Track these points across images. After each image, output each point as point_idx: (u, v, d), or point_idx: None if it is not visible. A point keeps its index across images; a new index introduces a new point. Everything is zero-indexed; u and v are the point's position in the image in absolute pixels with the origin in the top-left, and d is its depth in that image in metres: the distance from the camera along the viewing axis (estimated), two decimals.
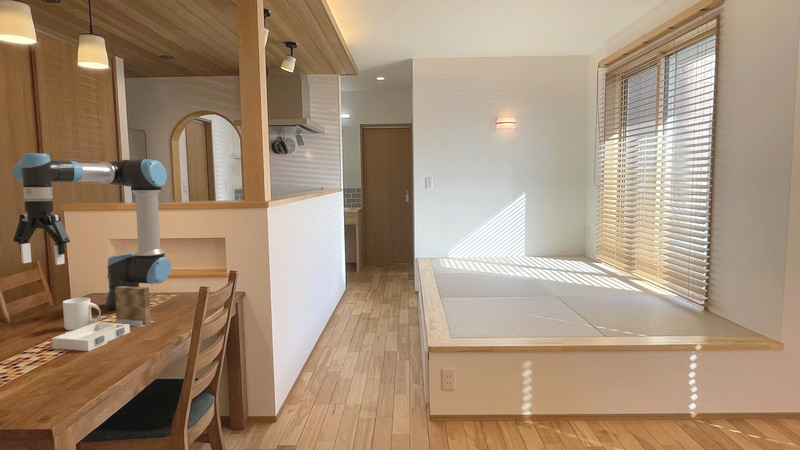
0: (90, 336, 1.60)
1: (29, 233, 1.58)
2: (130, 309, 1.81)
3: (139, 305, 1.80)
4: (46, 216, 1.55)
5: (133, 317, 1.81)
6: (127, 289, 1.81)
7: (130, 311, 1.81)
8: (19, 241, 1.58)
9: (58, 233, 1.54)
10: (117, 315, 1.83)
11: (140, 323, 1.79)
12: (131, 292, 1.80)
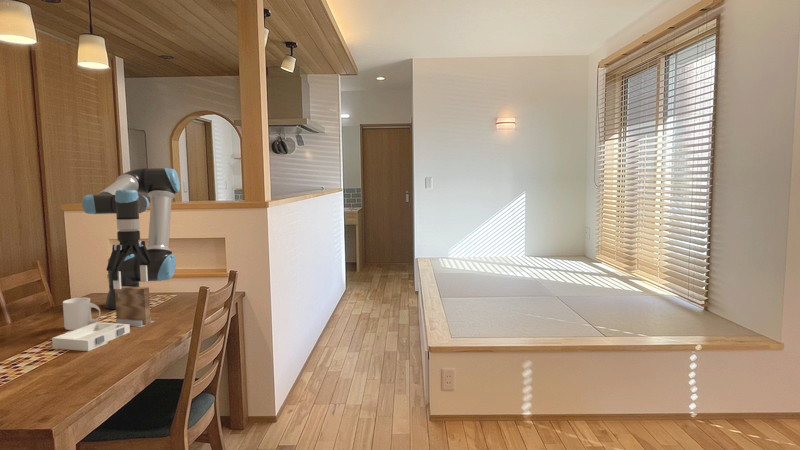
0: (90, 336, 1.60)
1: (138, 257, 1.85)
2: (130, 309, 1.81)
3: (139, 305, 1.80)
4: None
5: (133, 317, 1.81)
6: (127, 289, 1.81)
7: (130, 311, 1.81)
8: None
9: None
10: (117, 315, 1.83)
11: (140, 323, 1.79)
12: (131, 292, 1.80)
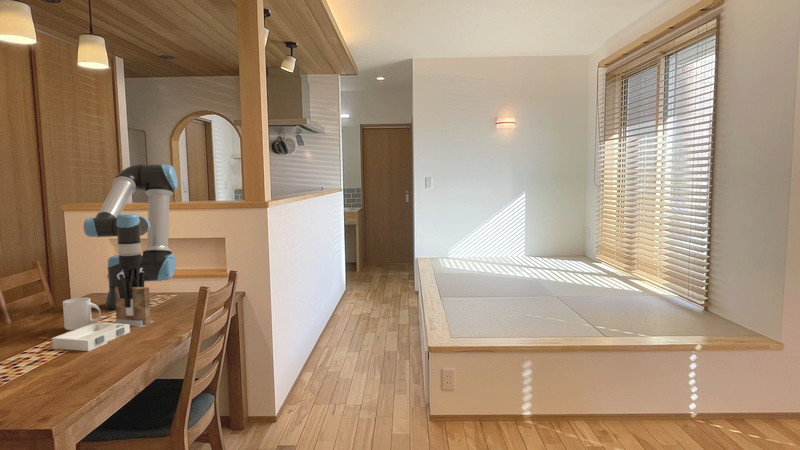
0: (90, 336, 1.60)
1: (134, 284, 1.83)
2: None
3: (139, 305, 1.80)
4: None
5: (133, 317, 1.81)
6: None
7: None
8: None
9: None
10: (117, 315, 1.83)
11: (140, 323, 1.79)
12: (131, 292, 1.80)
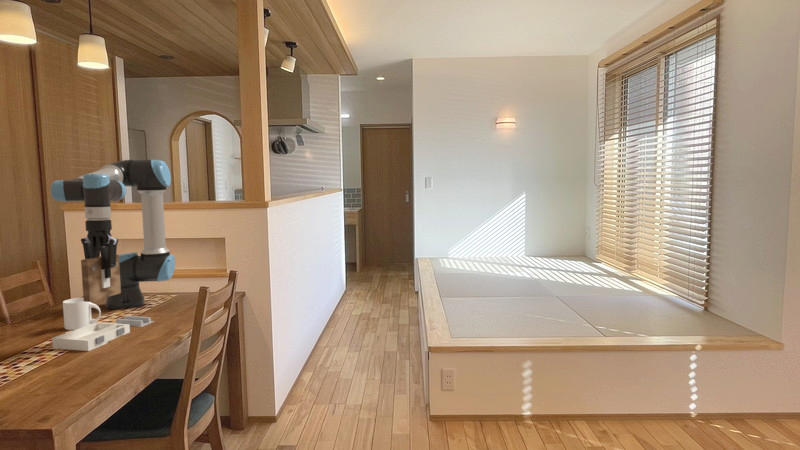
0: (90, 336, 1.60)
1: (96, 254, 1.62)
2: None
3: (114, 273, 1.66)
4: (106, 236, 1.59)
5: (107, 289, 1.63)
6: (101, 259, 1.61)
7: None
8: None
9: (109, 257, 1.60)
10: (90, 292, 1.57)
11: (140, 323, 1.79)
12: None
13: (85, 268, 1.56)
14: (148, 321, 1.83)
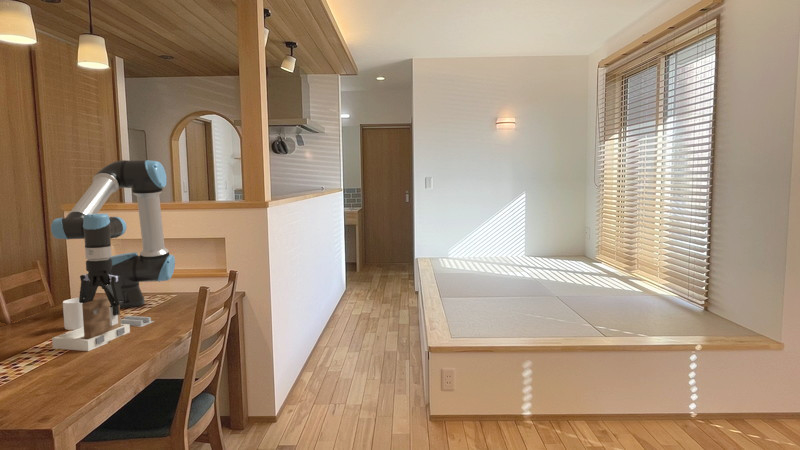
0: None
1: (93, 292, 1.62)
2: (106, 322, 1.63)
3: None
4: (107, 275, 1.60)
5: None
6: (102, 301, 1.61)
7: (105, 325, 1.63)
8: (85, 302, 1.62)
9: (115, 295, 1.59)
10: (91, 336, 1.57)
11: (140, 323, 1.79)
12: (106, 303, 1.63)
13: (86, 312, 1.56)
14: (148, 321, 1.83)
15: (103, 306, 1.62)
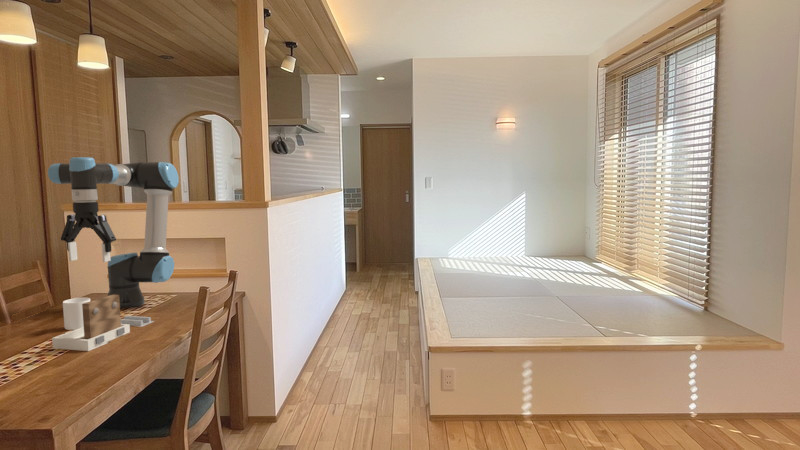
0: None
1: (76, 232, 1.68)
2: (106, 322, 1.63)
3: (114, 314, 1.67)
4: (93, 216, 1.65)
5: None
6: (102, 301, 1.61)
7: (105, 325, 1.63)
8: (66, 240, 1.68)
9: (105, 232, 1.65)
10: (91, 336, 1.57)
11: (140, 323, 1.79)
12: (106, 303, 1.63)
13: (86, 312, 1.56)
14: (148, 321, 1.83)
15: (103, 306, 1.62)
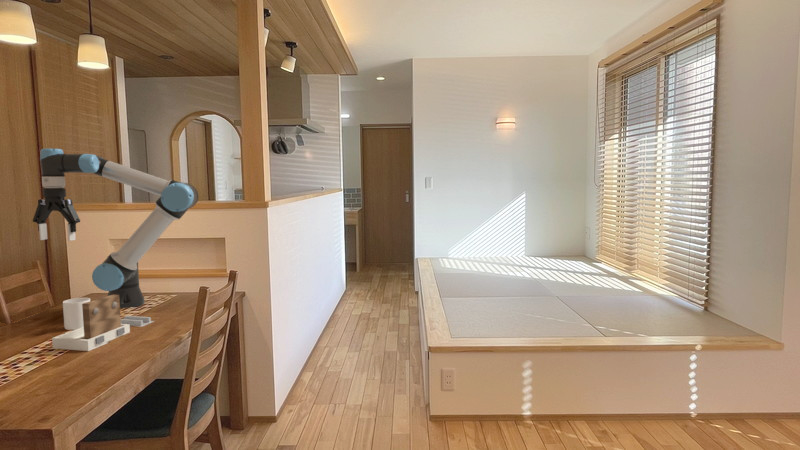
0: None
1: (46, 214, 1.91)
2: (106, 322, 1.63)
3: (114, 314, 1.67)
4: (60, 200, 1.88)
5: None
6: (102, 301, 1.61)
7: (105, 325, 1.63)
8: (37, 221, 1.91)
9: (70, 214, 1.87)
10: (91, 336, 1.57)
11: (140, 323, 1.79)
12: (106, 303, 1.63)
13: (86, 312, 1.56)
14: (148, 321, 1.83)
15: (103, 306, 1.62)
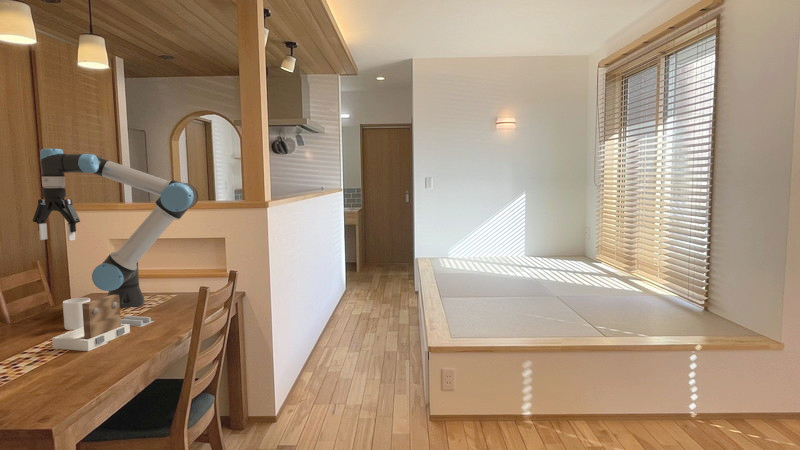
0: None
1: (46, 214, 1.91)
2: (106, 322, 1.63)
3: (114, 314, 1.67)
4: (60, 200, 1.88)
5: None
6: (102, 301, 1.61)
7: (105, 325, 1.63)
8: (37, 221, 1.91)
9: (70, 214, 1.87)
10: (91, 336, 1.57)
11: (140, 323, 1.79)
12: (106, 303, 1.63)
13: (86, 312, 1.56)
14: (148, 321, 1.83)
15: (103, 306, 1.62)
